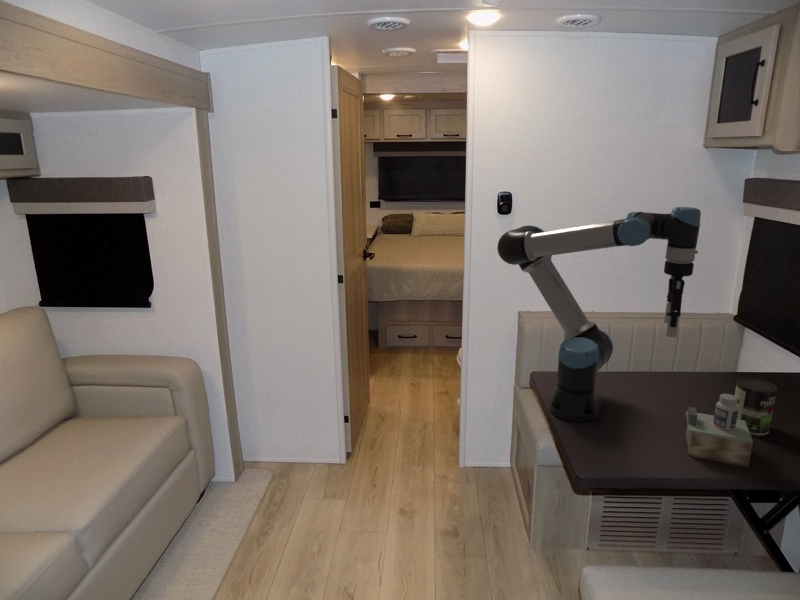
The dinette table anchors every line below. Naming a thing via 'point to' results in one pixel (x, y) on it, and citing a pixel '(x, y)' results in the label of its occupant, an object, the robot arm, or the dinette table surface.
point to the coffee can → (755, 404)
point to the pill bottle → (726, 412)
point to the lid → (705, 426)
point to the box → (718, 449)
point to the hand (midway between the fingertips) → (669, 329)
